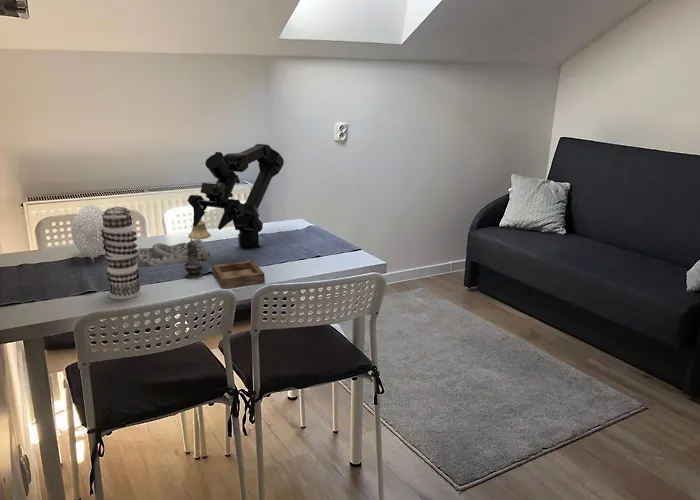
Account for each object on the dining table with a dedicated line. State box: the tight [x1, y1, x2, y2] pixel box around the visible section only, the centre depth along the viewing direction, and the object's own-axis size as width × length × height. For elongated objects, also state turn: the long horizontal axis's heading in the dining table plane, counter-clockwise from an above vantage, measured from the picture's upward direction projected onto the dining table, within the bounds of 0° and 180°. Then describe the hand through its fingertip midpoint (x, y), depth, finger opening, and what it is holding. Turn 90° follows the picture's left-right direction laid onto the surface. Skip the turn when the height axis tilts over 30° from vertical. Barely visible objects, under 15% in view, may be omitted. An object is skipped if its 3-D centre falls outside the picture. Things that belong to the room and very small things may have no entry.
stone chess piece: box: [183, 238, 204, 279], centre depth 187 cm, size 6×6×12 cm
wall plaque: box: [135, 239, 211, 267], centre depth 207 cm, size 24×19×4 cm
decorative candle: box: [100, 206, 142, 300], centre depth 170 cm, size 9×9×25 cm
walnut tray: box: [211, 260, 266, 289], centre depth 186 cm, size 13×13×3 cm
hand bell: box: [188, 219, 212, 240], centre depth 227 cm, size 8×8×16 cm
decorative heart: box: [70, 204, 105, 263], centre depth 201 cm, size 18×11×17 cm, turn 13°
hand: (206, 227), depth 192 cm, fingers open, 9 cm apart
